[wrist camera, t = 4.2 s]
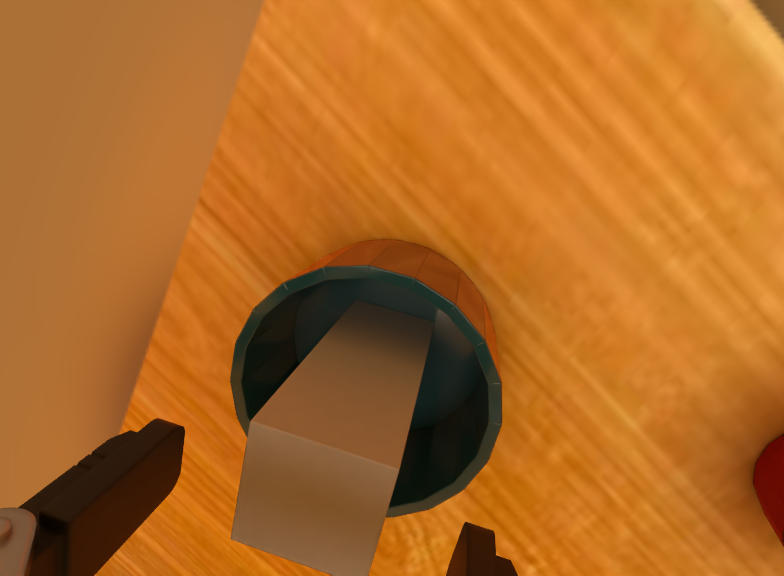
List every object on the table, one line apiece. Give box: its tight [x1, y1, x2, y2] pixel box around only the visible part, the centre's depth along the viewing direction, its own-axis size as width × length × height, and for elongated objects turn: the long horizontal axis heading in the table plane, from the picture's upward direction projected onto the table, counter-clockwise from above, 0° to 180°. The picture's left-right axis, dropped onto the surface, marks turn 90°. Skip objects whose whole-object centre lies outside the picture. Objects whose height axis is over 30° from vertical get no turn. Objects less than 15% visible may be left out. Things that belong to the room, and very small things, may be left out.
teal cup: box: [230, 239, 502, 517], centre depth 20 cm, size 11×11×6 cm
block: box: [231, 300, 435, 576], centre depth 17 cm, size 4×4×11 cm
